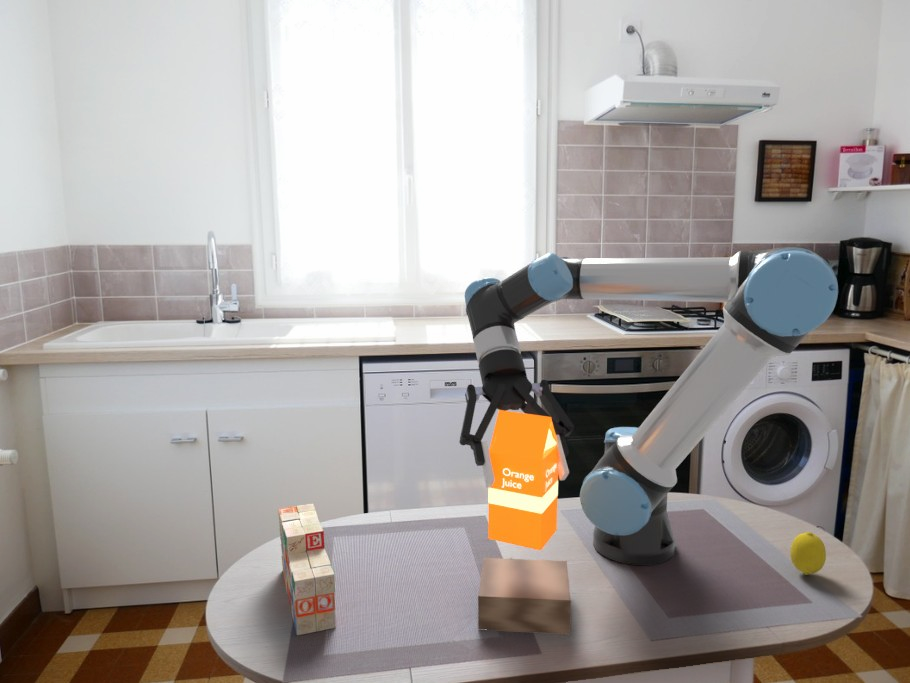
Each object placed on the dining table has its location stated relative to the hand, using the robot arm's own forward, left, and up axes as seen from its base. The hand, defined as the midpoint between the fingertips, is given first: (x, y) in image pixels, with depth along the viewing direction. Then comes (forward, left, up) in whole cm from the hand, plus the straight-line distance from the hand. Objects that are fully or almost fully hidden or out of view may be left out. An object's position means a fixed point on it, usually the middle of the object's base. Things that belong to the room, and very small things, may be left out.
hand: (528, 480), depth 106 cm
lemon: (-50, -14, -23) cm, 57 cm away
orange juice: (+1, -3, -10) cm, 11 cm away
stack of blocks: (+37, -6, -24) cm, 44 cm away
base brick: (0, -2, -24) cm, 24 cm away
